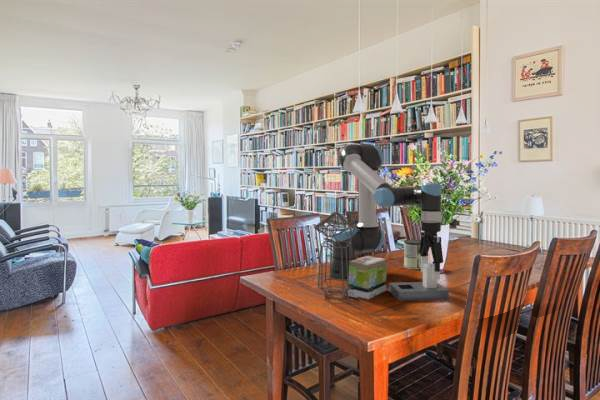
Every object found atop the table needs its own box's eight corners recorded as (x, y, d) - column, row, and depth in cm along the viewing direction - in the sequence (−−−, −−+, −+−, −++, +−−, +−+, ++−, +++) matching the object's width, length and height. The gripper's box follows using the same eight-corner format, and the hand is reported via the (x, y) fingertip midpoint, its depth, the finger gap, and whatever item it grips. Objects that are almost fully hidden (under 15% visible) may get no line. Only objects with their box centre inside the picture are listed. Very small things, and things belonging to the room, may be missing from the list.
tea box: (369, 302, 148) (369, 265, 147) (347, 296, 154) (347, 261, 153) (386, 292, 159) (387, 258, 158) (365, 287, 166) (366, 254, 165)
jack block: (398, 303, 146) (398, 291, 146) (389, 293, 158) (389, 282, 158) (448, 301, 148) (448, 290, 147) (435, 291, 160) (435, 281, 159)
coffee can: (405, 263, 209) (405, 238, 208) (424, 265, 205) (425, 240, 204) (402, 268, 200) (402, 241, 199) (422, 270, 195) (422, 243, 194)
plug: (426, 296, 151) (427, 265, 150) (422, 293, 155) (423, 262, 154) (436, 296, 151) (437, 265, 150) (432, 292, 156) (432, 262, 155)
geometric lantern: (358, 291, 161) (358, 210, 158) (350, 304, 146) (350, 215, 143) (323, 287, 166) (322, 209, 163) (311, 299, 152) (311, 213, 148)
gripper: (453, 225, 140) (452, 283, 142) (428, 217, 163) (427, 268, 164) (434, 225, 139) (433, 284, 141) (411, 218, 162) (410, 268, 164)
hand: (429, 275), depth 153 cm, fingers open, 10 cm apart
